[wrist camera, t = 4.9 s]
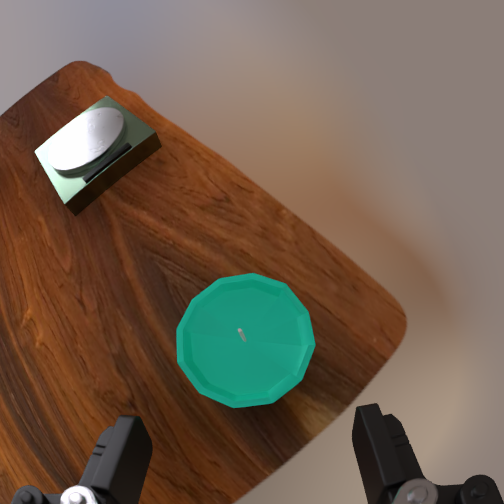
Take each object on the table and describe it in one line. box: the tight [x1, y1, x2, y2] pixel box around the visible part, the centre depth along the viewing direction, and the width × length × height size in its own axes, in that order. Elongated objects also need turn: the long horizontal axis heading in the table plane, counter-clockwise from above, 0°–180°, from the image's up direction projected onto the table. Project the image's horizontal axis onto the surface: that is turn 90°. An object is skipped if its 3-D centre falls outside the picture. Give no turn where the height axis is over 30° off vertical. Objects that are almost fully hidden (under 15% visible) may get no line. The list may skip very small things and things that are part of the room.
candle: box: [177, 273, 316, 408], centre depth 17 cm, size 6×6×12 cm
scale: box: [35, 96, 162, 216], centre depth 33 cm, size 13×12×3 cm
